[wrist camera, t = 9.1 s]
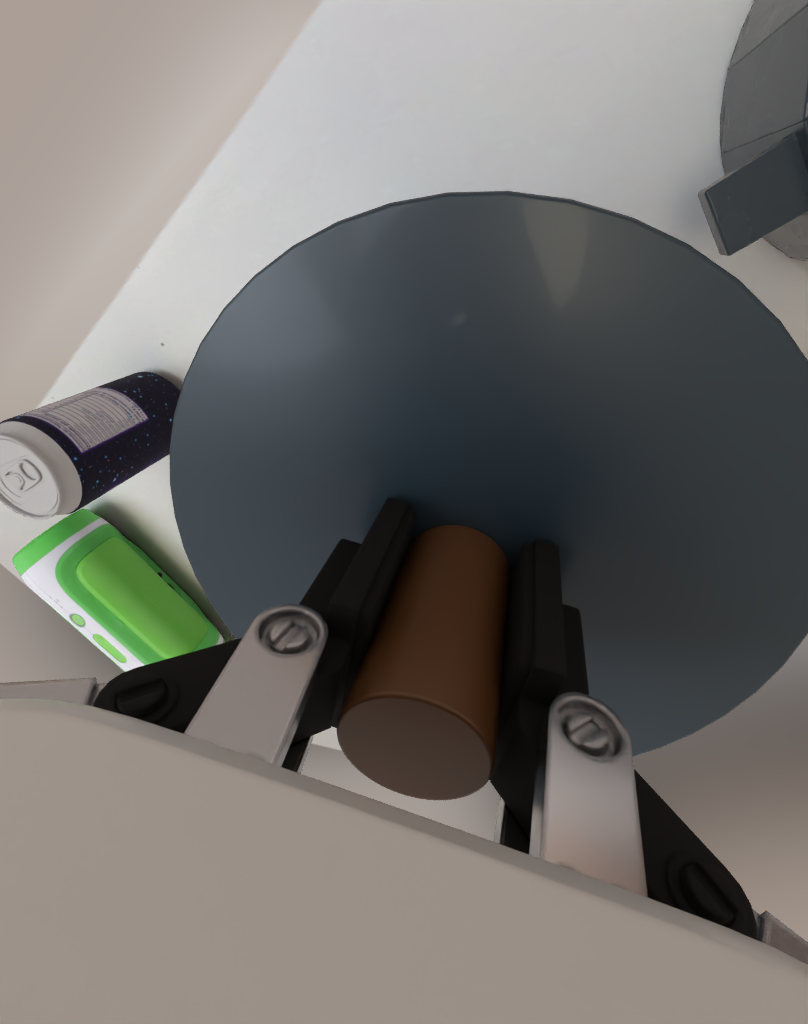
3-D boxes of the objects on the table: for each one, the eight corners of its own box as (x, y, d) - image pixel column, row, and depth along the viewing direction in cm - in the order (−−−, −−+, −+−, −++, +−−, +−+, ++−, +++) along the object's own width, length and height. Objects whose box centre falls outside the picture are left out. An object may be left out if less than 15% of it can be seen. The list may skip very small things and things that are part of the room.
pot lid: (93, 435, 14) (-165, 556, 9) (645, -53, 7) (927, -791, 2) (392, 770, 19) (337, 977, 14) (901, 670, 12) (1186, 1015, 7)
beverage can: (115, 390, 36) (-51, 454, 26) (163, 353, 33) (2, 408, 23) (165, 455, 38) (30, 539, 28) (215, 425, 35) (86, 504, 25)
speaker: (66, 527, 44) (-12, 577, 38) (106, 491, 41) (27, 539, 35) (203, 658, 49) (154, 721, 43) (248, 635, 46) (202, 700, 40)
